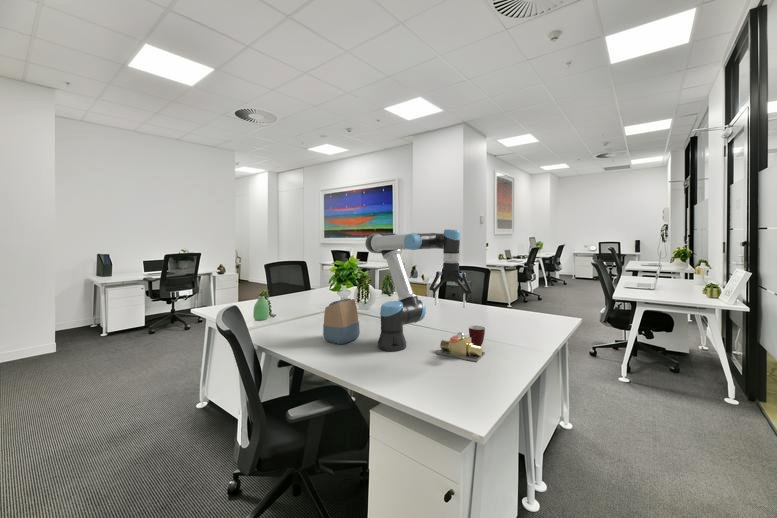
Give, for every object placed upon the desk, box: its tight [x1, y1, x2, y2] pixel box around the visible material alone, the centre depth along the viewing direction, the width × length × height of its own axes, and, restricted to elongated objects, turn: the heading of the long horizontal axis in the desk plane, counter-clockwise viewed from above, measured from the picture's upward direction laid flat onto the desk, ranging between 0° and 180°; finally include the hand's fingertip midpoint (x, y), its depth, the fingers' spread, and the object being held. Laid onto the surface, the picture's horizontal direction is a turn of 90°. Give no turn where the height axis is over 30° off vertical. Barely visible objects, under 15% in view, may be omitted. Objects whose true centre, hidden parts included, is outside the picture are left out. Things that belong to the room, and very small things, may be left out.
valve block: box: [436, 334, 486, 363], centre depth 167 cm, size 20×12×8 cm, turn 57°
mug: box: [468, 325, 486, 347], centre depth 177 cm, size 10×8×10 cm
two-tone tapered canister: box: [322, 298, 361, 345], centre depth 191 cm, size 17×17×23 cm
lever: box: [449, 332, 465, 344], centre depth 163 cm, size 12×3×3 cm, turn 147°
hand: (450, 306), depth 163 cm, fingers open, 13 cm apart
